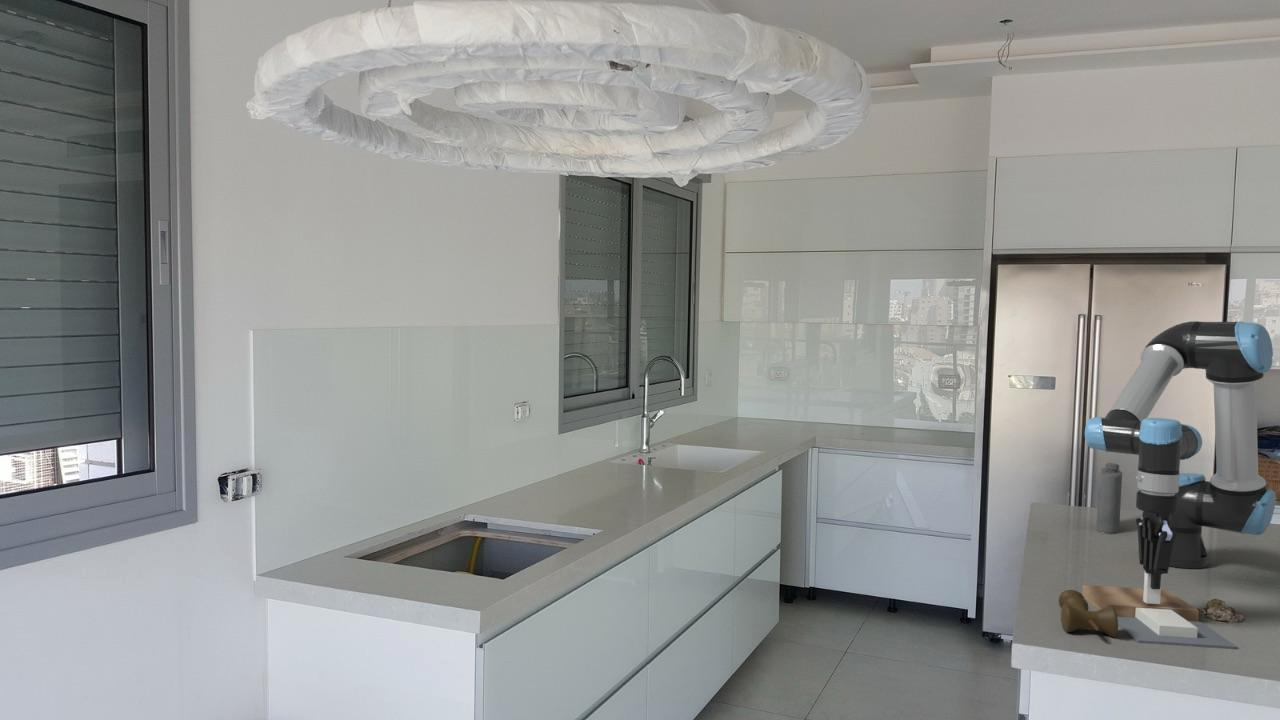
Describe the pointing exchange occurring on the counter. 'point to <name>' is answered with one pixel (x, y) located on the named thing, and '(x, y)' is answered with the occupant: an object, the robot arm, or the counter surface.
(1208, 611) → the mineral rock
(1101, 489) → the flask
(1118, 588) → the tan wooden board
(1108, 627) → the kendama
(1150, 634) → the mat
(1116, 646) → the counter surface
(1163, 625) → the stone tile
